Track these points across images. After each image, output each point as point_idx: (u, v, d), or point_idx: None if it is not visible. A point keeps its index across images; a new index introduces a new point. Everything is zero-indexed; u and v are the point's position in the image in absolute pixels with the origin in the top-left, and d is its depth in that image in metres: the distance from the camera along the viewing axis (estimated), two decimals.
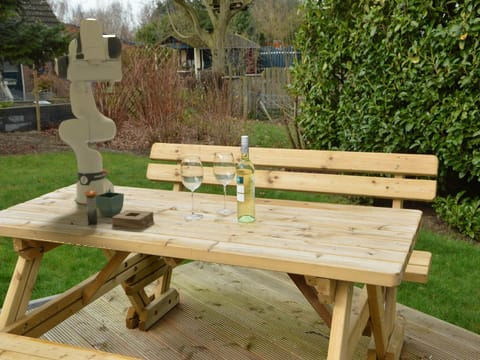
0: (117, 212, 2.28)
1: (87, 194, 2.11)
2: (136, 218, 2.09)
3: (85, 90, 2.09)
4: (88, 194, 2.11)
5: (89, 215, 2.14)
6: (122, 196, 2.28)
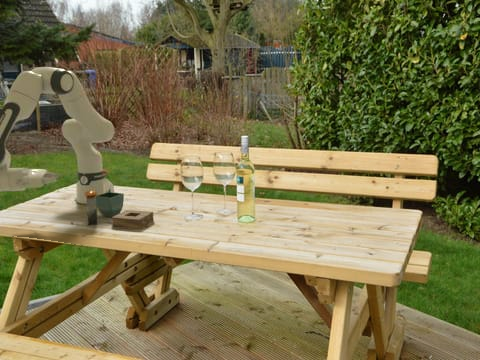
0: (117, 212, 2.28)
1: (87, 194, 2.11)
2: (136, 218, 2.09)
3: (57, 177, 2.14)
4: (88, 194, 2.11)
5: (89, 215, 2.14)
6: (122, 196, 2.28)
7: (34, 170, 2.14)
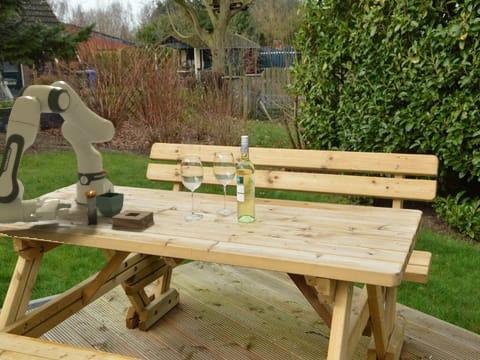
0: (117, 212, 2.28)
1: (87, 194, 2.11)
2: (136, 218, 2.09)
3: None
4: (88, 194, 2.11)
5: (89, 215, 2.14)
6: (122, 196, 2.28)
7: (47, 200, 2.18)
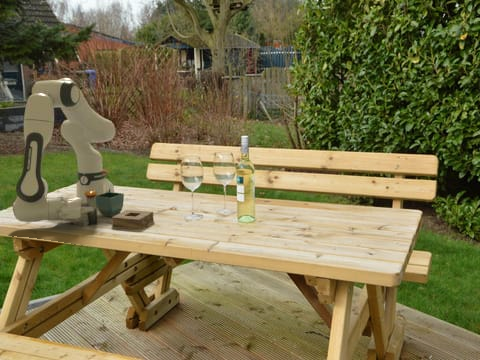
0: (117, 212, 2.28)
1: (87, 194, 2.11)
2: (136, 218, 2.09)
3: None
4: (88, 194, 2.11)
5: (89, 215, 2.14)
6: (122, 196, 2.28)
7: (70, 199, 2.20)
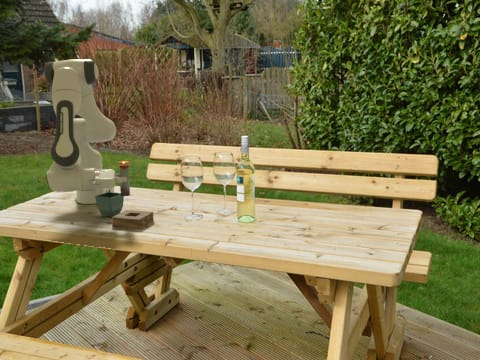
0: (117, 212, 2.28)
1: (120, 164, 2.08)
2: (136, 218, 2.09)
3: None
4: (121, 164, 2.08)
5: (122, 186, 2.10)
6: (122, 196, 2.28)
7: (102, 170, 2.17)
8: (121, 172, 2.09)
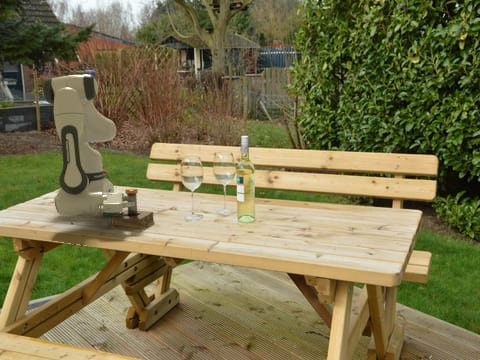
0: None
1: (128, 192, 2.10)
2: (136, 218, 2.09)
3: None
4: (129, 192, 2.10)
5: (130, 213, 2.13)
6: None
7: (110, 193, 2.18)
8: (129, 200, 2.12)
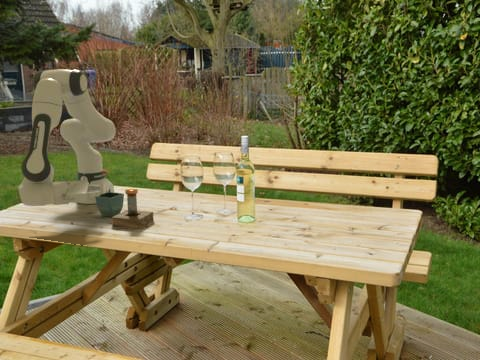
0: (117, 212, 2.28)
1: (128, 192, 2.10)
2: (136, 218, 2.09)
3: None
4: (129, 192, 2.10)
5: (130, 213, 2.13)
6: (122, 196, 2.28)
7: (76, 182, 2.15)
8: (129, 200, 2.12)
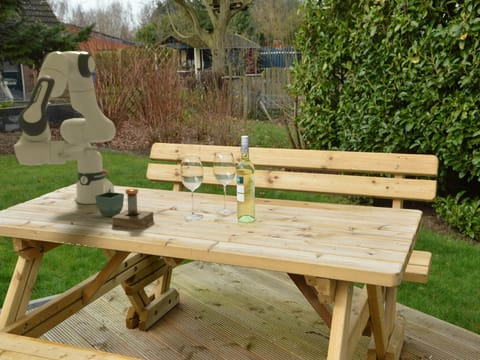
0: (117, 212, 2.28)
1: (129, 192, 2.10)
2: (136, 218, 2.09)
3: None
4: (130, 192, 2.10)
5: (130, 213, 2.13)
6: (122, 196, 2.28)
7: (73, 144, 2.12)
8: (129, 200, 2.12)
